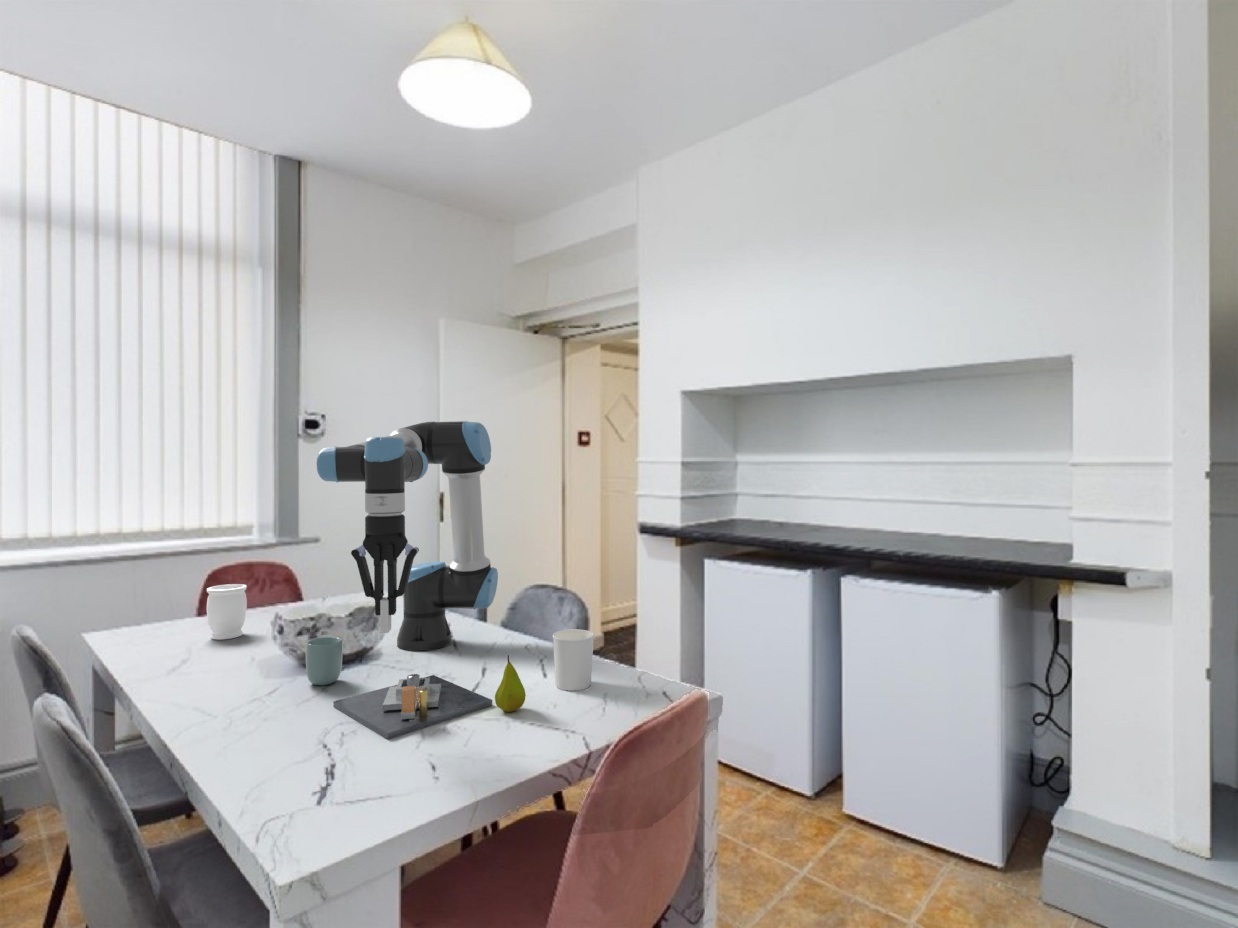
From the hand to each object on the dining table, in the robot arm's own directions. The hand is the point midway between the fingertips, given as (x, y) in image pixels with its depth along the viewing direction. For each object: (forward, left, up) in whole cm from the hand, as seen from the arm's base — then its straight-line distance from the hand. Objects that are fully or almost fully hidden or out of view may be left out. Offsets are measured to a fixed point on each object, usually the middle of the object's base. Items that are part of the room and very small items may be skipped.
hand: (385, 630), depth 131 cm
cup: (-2, -34, -19) cm, 38 cm away
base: (-9, -5, -19) cm, 21 cm away
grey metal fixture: (-7, -2, -17) cm, 19 cm away
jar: (+1, -97, -19) cm, 98 cm away
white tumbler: (-42, +10, -19) cm, 47 cm away
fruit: (-22, +12, -19) cm, 31 cm away
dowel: (-6, +5, -18) cm, 19 cm away
